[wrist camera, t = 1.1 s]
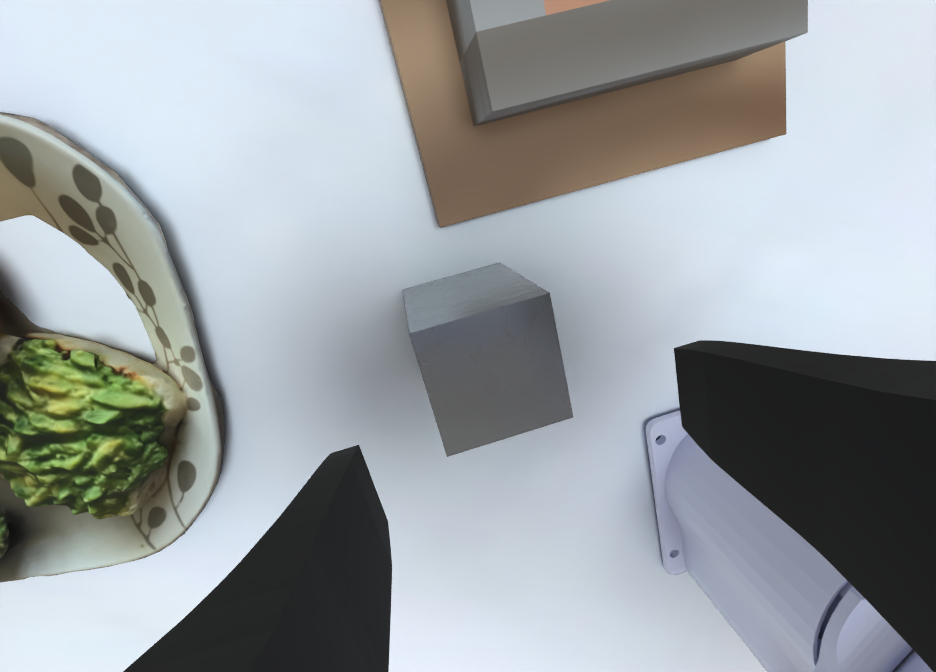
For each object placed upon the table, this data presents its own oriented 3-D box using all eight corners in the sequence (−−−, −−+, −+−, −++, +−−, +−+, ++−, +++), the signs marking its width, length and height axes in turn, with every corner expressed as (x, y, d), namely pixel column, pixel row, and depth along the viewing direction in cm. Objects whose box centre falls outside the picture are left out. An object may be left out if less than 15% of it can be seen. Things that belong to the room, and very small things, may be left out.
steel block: (519, 352, 20) (573, 417, 14) (429, 379, 19) (446, 456, 14) (499, 262, 18) (549, 292, 13) (402, 289, 18) (409, 333, 12)
